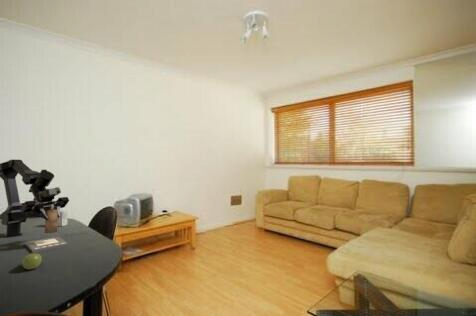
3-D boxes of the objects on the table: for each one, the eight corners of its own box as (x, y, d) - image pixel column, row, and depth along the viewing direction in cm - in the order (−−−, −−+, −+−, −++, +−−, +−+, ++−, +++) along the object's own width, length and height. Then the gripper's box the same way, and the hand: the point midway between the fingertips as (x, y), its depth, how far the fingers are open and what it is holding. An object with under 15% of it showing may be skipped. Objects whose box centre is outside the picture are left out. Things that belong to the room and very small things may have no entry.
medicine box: (67, 224, 158) (67, 210, 159) (61, 226, 154) (62, 212, 154) (55, 224, 159) (56, 210, 159) (49, 226, 155) (50, 211, 155)
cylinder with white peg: (46, 231, 122) (47, 203, 122) (58, 230, 124) (59, 203, 124) (43, 233, 118) (44, 205, 118) (56, 232, 120) (57, 204, 120)
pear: (21, 256, 90) (23, 253, 98) (21, 272, 90) (23, 267, 98) (41, 253, 94) (42, 250, 102) (41, 268, 93) (41, 264, 101)
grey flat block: (25, 244, 120) (25, 241, 120) (58, 238, 130) (58, 236, 130) (32, 253, 109) (33, 249, 109) (68, 246, 119) (68, 243, 119)
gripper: (25, 183, 115) (38, 210, 110) (67, 181, 132) (80, 204, 127) (15, 199, 118) (27, 226, 113) (57, 195, 135) (70, 218, 130)
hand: (53, 218), depth 121 cm, fingers closed on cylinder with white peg, 5 cm apart
